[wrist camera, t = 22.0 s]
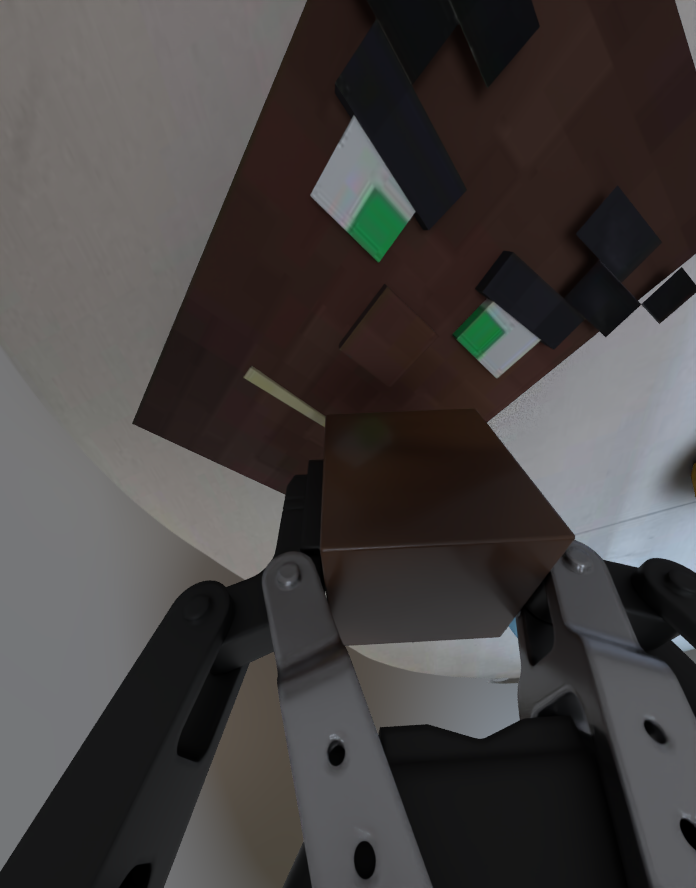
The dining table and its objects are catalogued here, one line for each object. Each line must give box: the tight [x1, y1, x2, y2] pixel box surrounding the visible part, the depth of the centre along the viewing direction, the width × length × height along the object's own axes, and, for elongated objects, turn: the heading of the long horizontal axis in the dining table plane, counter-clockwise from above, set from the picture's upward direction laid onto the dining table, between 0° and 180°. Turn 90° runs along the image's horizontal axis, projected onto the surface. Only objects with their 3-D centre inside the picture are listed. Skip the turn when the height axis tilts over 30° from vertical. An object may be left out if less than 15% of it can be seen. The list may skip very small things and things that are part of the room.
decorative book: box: [132, 0, 696, 495], centre depth 17 cm, size 19×8×30 cm
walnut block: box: [320, 408, 575, 646], centre depth 9 cm, size 5×5×5 cm
